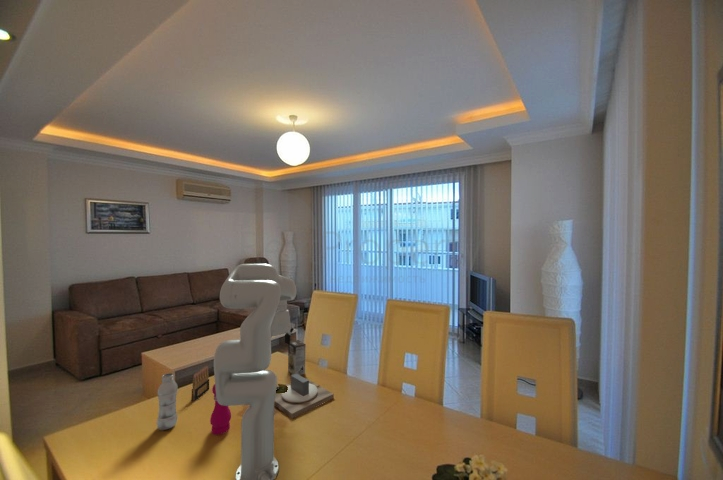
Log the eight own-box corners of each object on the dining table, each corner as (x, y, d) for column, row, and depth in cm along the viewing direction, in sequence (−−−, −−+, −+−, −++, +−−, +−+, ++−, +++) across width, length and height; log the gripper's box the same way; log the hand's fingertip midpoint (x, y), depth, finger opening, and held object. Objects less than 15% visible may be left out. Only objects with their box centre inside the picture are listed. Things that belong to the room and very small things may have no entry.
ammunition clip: (205, 389, 143) (206, 364, 143) (209, 389, 143) (209, 364, 143) (191, 400, 133) (191, 374, 133) (195, 401, 132) (195, 374, 133)
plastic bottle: (152, 429, 112) (153, 377, 112) (171, 420, 118) (171, 370, 118) (162, 434, 109) (163, 380, 109) (181, 424, 115) (181, 373, 115)
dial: (324, 393, 136) (324, 378, 136) (294, 407, 124) (294, 390, 124) (304, 381, 147) (304, 367, 147) (274, 393, 135) (275, 377, 135)
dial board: (333, 398, 136) (333, 393, 136) (291, 418, 120) (291, 412, 120) (305, 382, 151) (305, 377, 151) (265, 398, 135) (265, 393, 135)
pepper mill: (222, 437, 108) (223, 382, 108) (205, 434, 110) (206, 380, 110) (235, 425, 115) (235, 373, 116) (218, 422, 117) (219, 372, 117)
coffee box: (287, 370, 164) (287, 341, 164) (298, 367, 168) (298, 339, 168) (294, 376, 157) (294, 346, 157) (305, 373, 161) (305, 343, 161)
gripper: (264, 313, 124) (264, 354, 124) (299, 306, 136) (299, 343, 137) (256, 310, 129) (255, 349, 129) (289, 303, 141) (289, 339, 142)
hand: (278, 346), depth 133 cm, fingers open, 9 cm apart
